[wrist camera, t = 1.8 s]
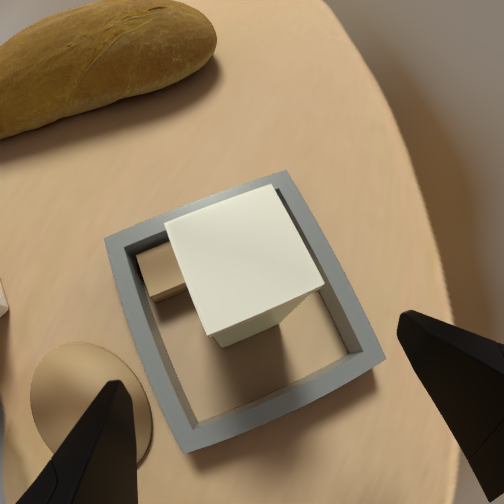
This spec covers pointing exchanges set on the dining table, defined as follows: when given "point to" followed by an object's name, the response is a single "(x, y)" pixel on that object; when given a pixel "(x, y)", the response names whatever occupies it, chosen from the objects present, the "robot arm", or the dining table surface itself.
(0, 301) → the medicine bottle
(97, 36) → the bread
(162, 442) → the dining table surface
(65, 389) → the coaster
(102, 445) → the robot arm
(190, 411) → the grey square frame
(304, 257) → the tall square-topped block
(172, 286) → the block
